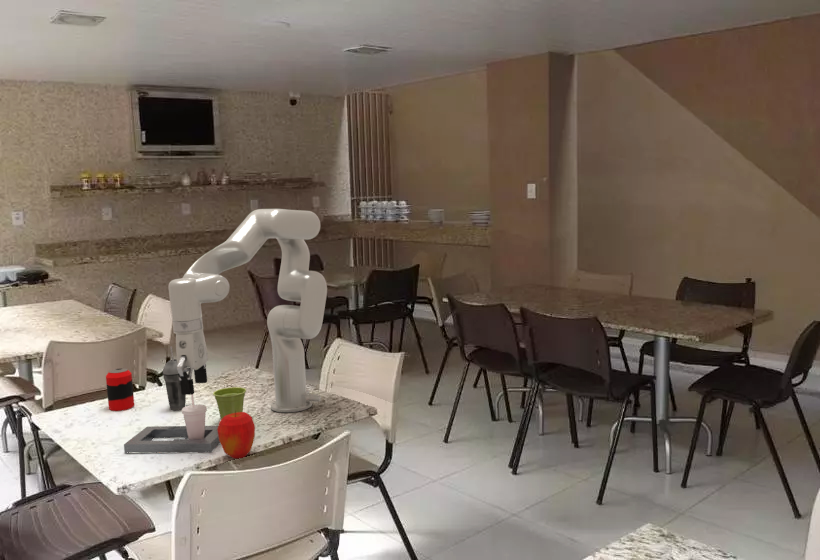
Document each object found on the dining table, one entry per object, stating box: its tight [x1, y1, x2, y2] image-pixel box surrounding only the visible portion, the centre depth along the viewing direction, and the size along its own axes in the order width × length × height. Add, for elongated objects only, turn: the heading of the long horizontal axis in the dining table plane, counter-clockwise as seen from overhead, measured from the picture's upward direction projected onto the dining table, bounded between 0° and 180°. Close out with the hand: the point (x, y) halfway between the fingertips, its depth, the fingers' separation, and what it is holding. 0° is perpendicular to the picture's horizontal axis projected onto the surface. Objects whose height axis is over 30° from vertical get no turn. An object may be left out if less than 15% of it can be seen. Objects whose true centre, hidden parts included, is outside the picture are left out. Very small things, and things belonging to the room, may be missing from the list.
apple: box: [217, 411, 256, 460], centre depth 180 cm, size 9×9×12 cm
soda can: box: [105, 367, 135, 412], centre depth 226 cm, size 8×8×12 cm
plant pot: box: [212, 386, 247, 420], centre depth 209 cm, size 9×9×9 cm
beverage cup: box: [162, 346, 188, 412], centre depth 222 cm, size 7×7×20 cm
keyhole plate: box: [123, 425, 221, 454], centre depth 192 cm, size 23×14×2 cm, turn 86°
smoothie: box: [181, 394, 208, 439], centre depth 191 cm, size 6×6×14 cm
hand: (194, 388), depth 190 cm, fingers open, 9 cm apart
